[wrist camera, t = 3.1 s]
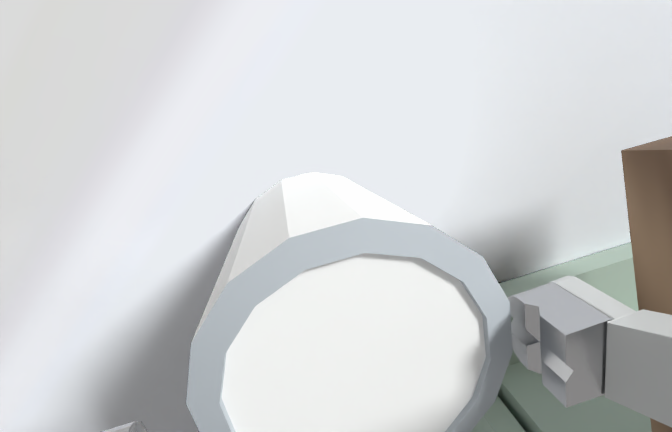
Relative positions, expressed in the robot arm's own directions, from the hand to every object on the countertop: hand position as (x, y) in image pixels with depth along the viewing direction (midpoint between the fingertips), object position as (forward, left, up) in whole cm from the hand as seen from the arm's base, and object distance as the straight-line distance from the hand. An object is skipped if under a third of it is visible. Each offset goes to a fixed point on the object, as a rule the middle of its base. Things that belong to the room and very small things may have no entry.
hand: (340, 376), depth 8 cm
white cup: (0, 0, -7) cm, 7 cm away
